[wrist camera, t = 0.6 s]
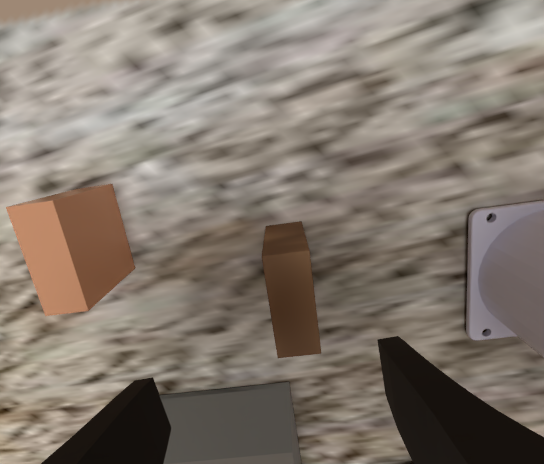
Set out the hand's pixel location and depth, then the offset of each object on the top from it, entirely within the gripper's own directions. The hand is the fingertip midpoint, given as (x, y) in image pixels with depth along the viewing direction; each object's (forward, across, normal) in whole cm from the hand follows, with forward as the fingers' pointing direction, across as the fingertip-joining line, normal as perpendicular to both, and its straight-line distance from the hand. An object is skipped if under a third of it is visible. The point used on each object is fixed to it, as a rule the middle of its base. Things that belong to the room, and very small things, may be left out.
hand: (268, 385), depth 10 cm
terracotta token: (+9, +9, -4) cm, 14 cm away
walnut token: (+9, -1, 0) cm, 9 cm away
